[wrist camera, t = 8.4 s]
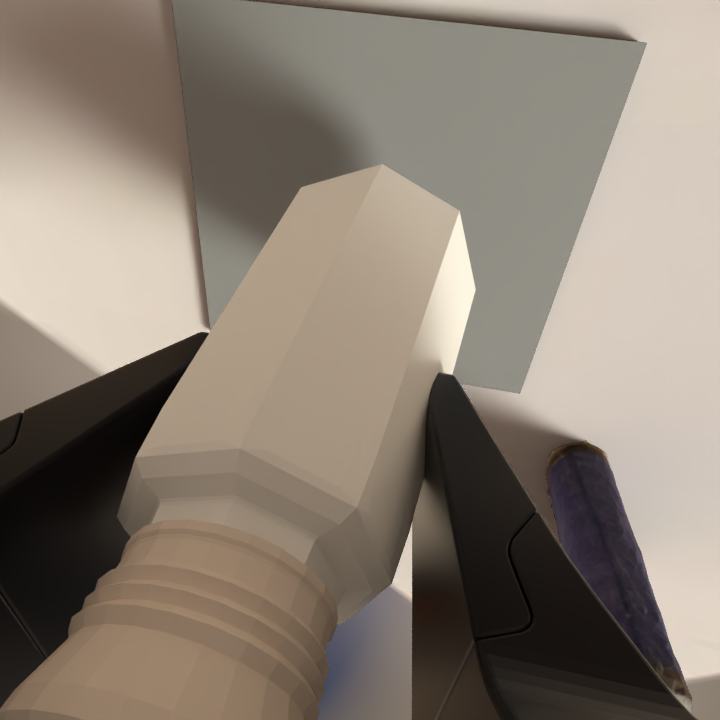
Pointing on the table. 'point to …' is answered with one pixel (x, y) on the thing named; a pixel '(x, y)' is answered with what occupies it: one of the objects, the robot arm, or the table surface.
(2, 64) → the table surface
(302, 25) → the mat
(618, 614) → the flask
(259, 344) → the pepper shaker
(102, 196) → the table surface
